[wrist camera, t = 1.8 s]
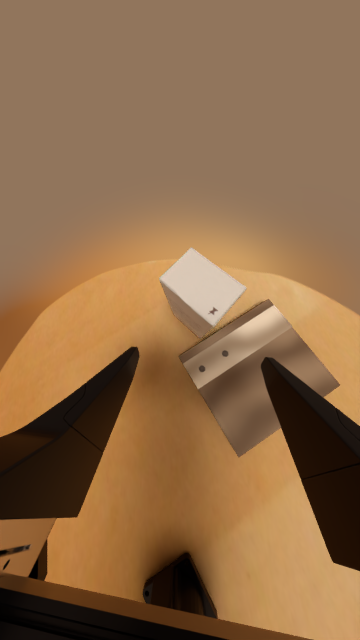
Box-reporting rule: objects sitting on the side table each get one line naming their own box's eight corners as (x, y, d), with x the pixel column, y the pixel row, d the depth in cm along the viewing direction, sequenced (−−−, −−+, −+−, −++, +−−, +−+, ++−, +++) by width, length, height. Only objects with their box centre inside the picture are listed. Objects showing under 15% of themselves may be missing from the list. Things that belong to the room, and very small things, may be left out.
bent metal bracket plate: (328, 382, 19) (342, 385, 17) (234, 448, 18) (239, 459, 16) (263, 302, 22) (269, 298, 20) (179, 355, 21) (178, 356, 19)
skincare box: (216, 319, 22) (250, 288, 10) (199, 338, 21) (214, 329, 10) (189, 296, 23) (191, 244, 11) (172, 314, 22) (156, 279, 11)
